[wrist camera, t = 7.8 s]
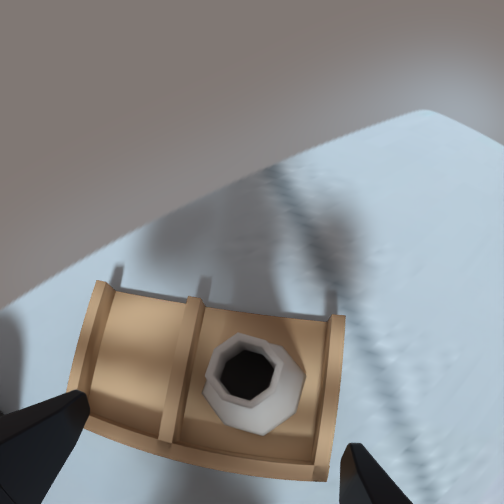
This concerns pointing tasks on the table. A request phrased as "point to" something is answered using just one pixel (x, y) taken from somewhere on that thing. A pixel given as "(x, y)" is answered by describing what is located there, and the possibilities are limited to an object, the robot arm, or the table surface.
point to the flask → (253, 384)
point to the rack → (202, 383)
